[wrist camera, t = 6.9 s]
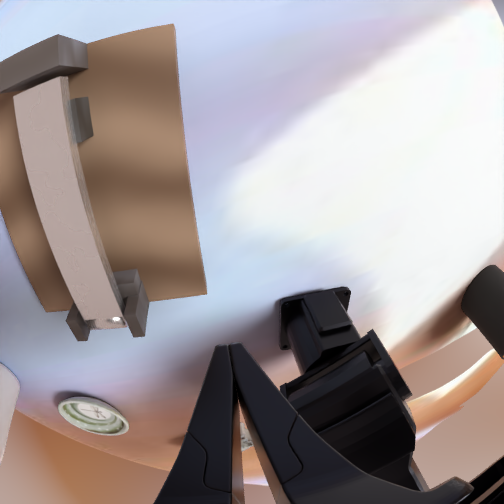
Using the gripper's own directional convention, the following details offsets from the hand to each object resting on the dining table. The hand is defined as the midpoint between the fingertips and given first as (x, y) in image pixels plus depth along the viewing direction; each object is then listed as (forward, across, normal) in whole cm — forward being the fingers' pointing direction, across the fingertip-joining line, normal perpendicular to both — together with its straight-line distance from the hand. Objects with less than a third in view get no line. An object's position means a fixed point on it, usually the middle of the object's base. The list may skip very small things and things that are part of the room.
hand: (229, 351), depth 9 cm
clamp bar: (+9, +8, -2) cm, 12 cm away
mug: (+12, -36, +17) cm, 42 cm away
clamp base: (+12, +8, -3) cm, 15 cm away
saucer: (+12, +19, +24) cm, 33 cm away
